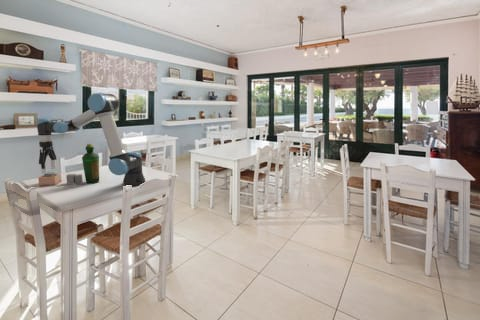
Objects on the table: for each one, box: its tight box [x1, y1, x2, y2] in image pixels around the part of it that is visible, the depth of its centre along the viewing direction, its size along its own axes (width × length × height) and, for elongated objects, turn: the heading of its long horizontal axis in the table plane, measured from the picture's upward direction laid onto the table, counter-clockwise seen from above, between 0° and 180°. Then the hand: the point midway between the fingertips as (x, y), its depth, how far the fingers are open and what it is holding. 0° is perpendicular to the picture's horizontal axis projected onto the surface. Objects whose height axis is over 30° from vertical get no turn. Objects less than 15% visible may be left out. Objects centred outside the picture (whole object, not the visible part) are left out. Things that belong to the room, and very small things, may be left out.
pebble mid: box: [65, 173, 76, 185], centre depth 194 cm, size 4×4×6 cm
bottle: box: [81, 143, 100, 185], centre depth 196 cm, size 11×11×28 cm
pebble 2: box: [74, 173, 84, 185], centre depth 195 cm, size 4×4×6 cm
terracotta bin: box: [37, 173, 63, 187], centre depth 192 cm, size 10×10×6 cm
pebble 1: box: [43, 171, 56, 177], centre depth 192 cm, size 4×4×7 cm
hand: (49, 171), depth 191 cm, fingers open, 13 cm apart
